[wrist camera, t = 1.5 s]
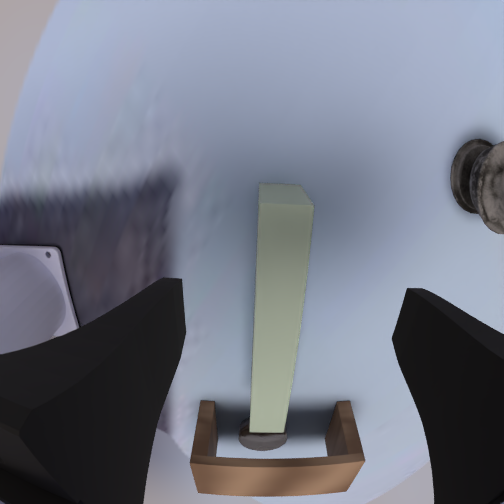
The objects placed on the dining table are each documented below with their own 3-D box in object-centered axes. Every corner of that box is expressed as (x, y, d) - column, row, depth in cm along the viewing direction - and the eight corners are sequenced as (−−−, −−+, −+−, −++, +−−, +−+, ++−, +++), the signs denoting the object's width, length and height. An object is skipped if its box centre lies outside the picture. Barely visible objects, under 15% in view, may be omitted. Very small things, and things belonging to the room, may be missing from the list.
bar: (251, 383, 25) (249, 431, 20) (259, 182, 19) (259, 203, 14) (280, 384, 25) (283, 432, 20) (300, 184, 18) (314, 205, 14)
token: (239, 438, 28) (238, 450, 27) (239, 412, 26) (238, 425, 25) (283, 438, 28) (284, 450, 27) (288, 413, 26) (289, 425, 25)
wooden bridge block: (205, 437, 28) (198, 492, 22) (200, 400, 25) (189, 463, 19) (336, 437, 28) (346, 491, 22) (349, 400, 25) (365, 460, 19)
